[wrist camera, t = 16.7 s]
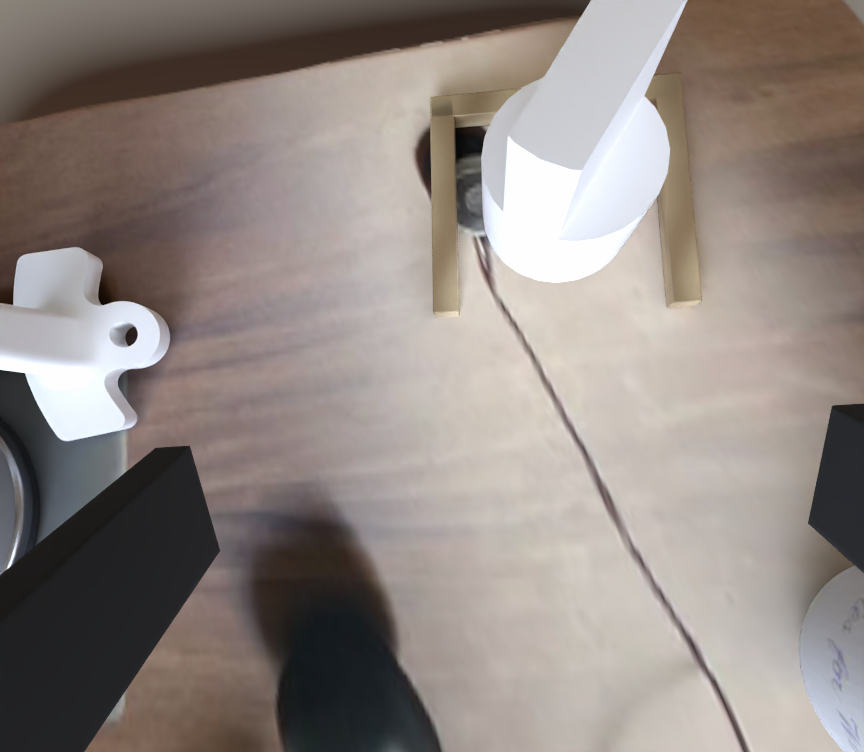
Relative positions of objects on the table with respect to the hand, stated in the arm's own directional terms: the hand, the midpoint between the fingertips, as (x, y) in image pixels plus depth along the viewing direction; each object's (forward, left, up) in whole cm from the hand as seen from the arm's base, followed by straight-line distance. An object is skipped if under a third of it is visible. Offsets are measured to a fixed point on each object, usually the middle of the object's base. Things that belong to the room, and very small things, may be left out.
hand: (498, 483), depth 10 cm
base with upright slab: (+2, +15, -18) cm, 24 cm away
